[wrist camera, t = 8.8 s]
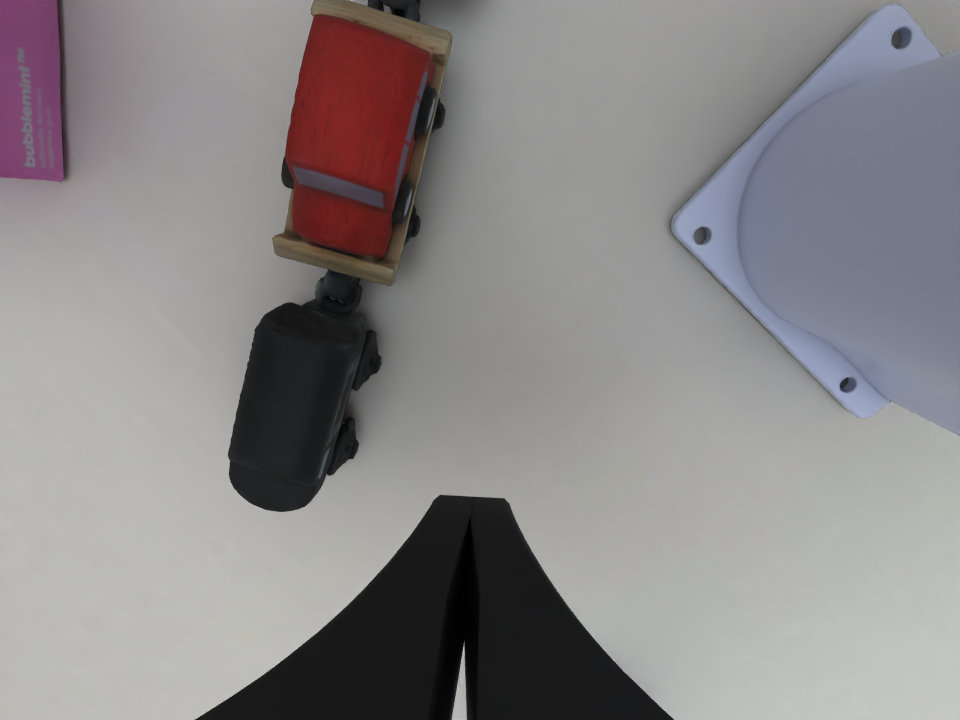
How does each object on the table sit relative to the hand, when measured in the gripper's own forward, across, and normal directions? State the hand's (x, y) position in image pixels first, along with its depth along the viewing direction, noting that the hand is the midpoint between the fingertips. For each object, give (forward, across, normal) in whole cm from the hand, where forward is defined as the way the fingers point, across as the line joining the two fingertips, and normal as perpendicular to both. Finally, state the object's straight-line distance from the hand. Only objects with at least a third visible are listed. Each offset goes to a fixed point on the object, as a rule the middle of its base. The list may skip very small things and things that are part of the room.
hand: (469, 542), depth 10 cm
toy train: (+9, +3, -8) cm, 12 cm away
